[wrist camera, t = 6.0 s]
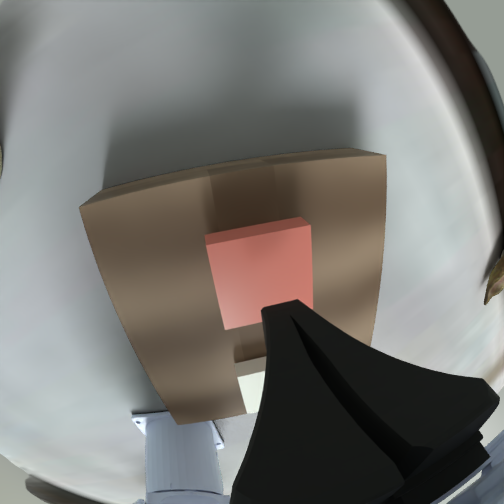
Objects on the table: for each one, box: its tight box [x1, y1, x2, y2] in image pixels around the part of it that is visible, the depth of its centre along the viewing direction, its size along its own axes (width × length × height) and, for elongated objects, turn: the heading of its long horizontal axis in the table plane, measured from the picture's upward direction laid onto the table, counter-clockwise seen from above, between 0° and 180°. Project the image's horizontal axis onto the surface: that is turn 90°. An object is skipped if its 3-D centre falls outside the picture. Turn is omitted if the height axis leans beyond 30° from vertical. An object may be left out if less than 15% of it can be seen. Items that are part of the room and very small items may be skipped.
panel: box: [79, 148, 387, 425], centre depth 18 cm, size 18×16×4 cm
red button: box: [205, 217, 313, 330], centre depth 15 cm, size 4×4×5 cm
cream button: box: [234, 356, 266, 414], centre depth 19 cm, size 4×4×5 cm
